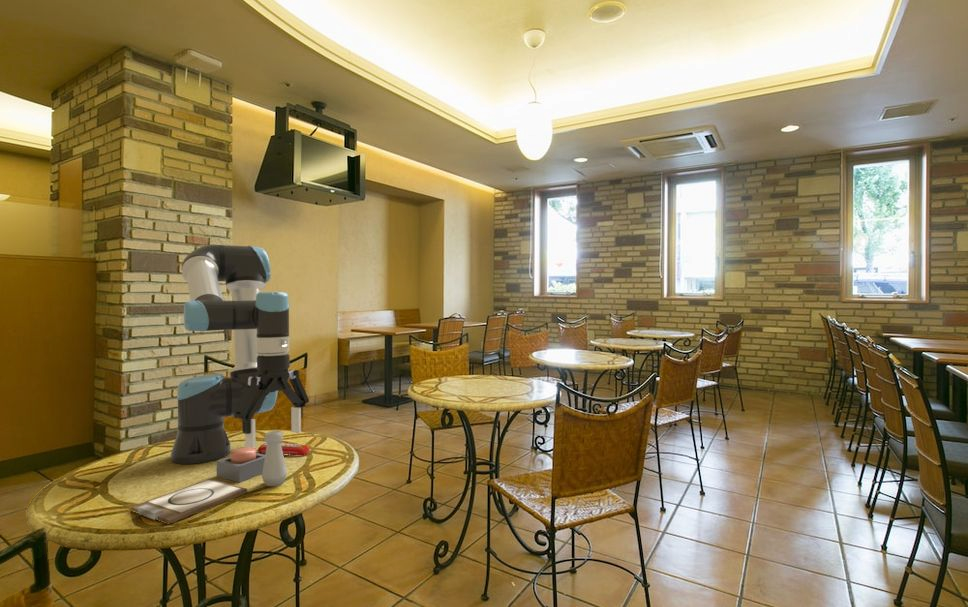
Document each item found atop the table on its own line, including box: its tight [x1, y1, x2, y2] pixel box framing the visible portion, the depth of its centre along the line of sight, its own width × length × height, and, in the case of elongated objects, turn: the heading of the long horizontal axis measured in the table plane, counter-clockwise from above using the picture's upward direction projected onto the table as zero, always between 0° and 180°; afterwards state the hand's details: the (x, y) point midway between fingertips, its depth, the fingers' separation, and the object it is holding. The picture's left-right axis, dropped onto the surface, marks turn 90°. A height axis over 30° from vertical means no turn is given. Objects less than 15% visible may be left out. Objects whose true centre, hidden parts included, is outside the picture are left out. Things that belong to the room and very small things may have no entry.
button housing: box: [216, 452, 265, 483], centre depth 128 cm, size 9×9×4 cm
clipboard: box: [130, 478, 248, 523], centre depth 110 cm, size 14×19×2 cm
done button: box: [230, 446, 257, 464], centre depth 128 cm, size 6×6×3 cm
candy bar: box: [256, 442, 310, 456], centre depth 144 cm, size 16×4×3 cm, turn 80°
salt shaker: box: [261, 430, 288, 487], centre depth 121 cm, size 6×6×13 cm
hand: (274, 439), depth 120 cm, fingers open, 13 cm apart
